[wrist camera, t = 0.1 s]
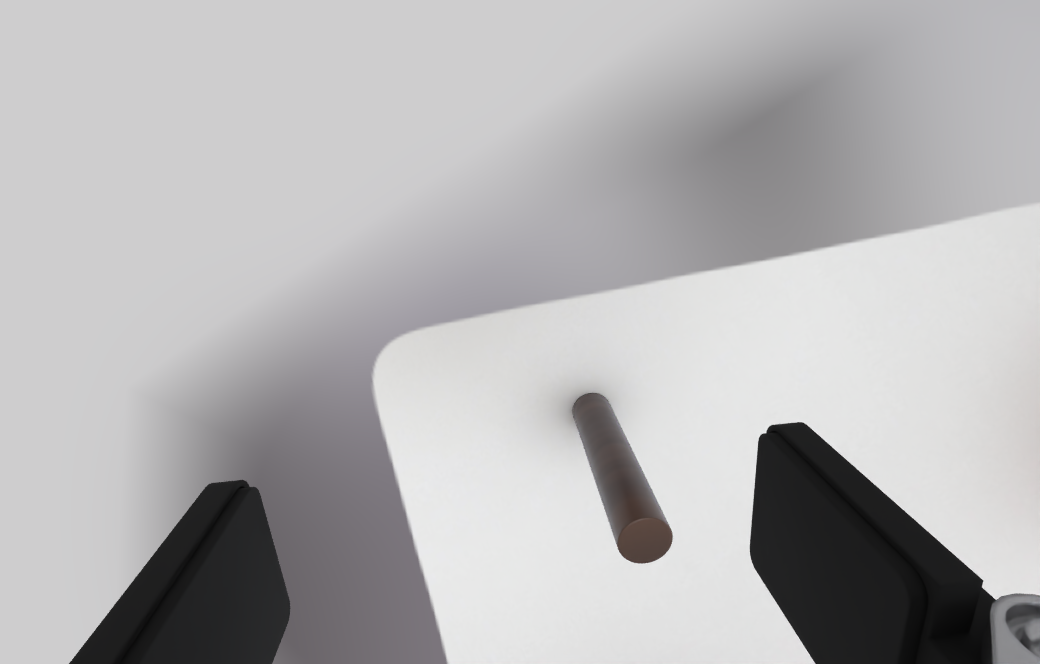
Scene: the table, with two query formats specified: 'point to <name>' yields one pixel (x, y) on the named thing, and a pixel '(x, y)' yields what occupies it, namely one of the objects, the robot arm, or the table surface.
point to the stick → (621, 483)
